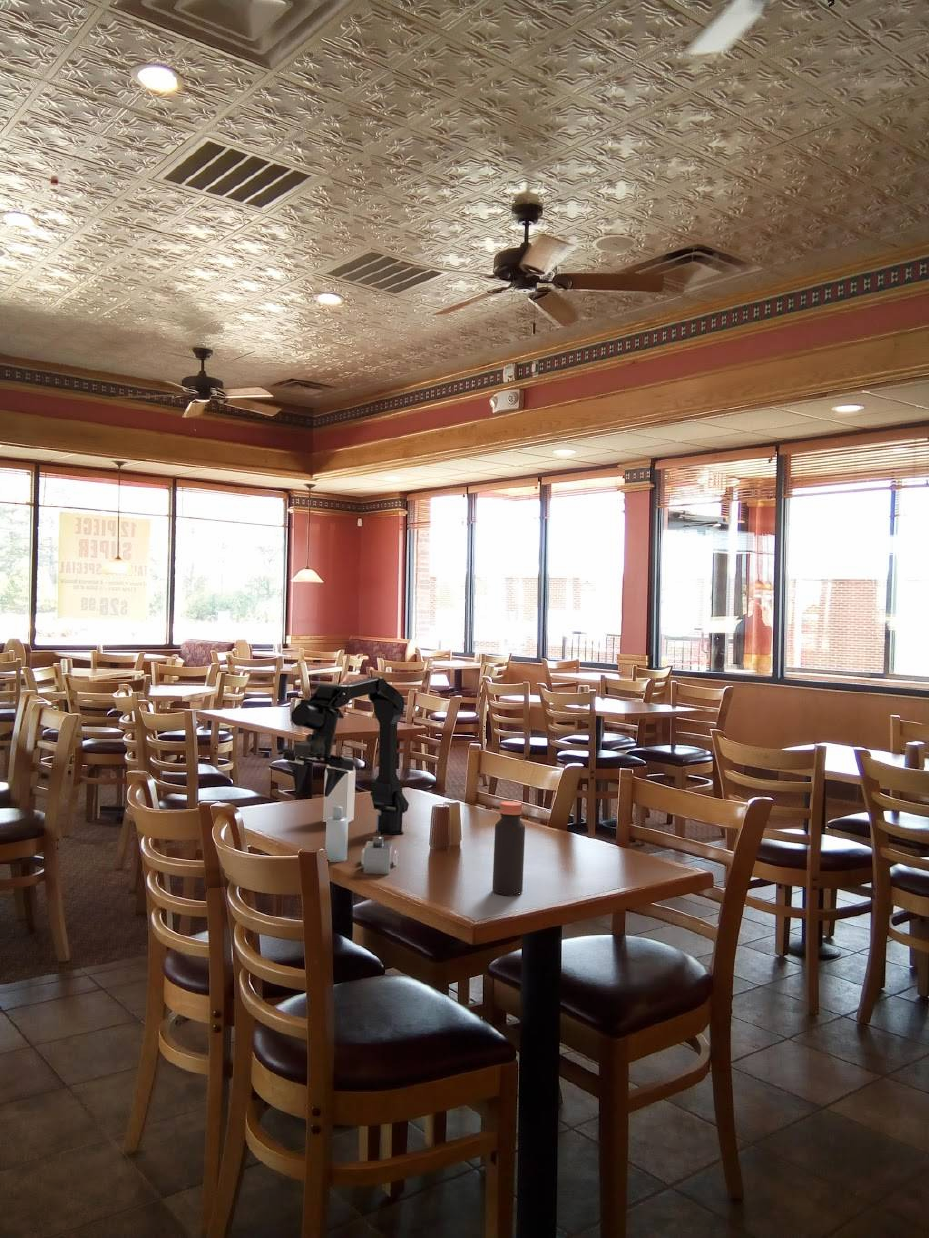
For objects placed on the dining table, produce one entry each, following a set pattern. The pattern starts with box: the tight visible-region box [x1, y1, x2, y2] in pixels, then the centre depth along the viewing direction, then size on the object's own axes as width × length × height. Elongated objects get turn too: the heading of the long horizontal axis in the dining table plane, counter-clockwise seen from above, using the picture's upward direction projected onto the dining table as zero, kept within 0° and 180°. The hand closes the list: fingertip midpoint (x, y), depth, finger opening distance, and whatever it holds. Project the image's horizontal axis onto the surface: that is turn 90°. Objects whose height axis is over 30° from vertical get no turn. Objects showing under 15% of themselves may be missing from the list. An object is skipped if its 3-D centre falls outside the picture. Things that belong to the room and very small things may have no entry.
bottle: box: [491, 800, 526, 896], centre depth 215 cm, size 7×7×20 cm
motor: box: [360, 835, 399, 875], centre depth 231 cm, size 12×9×8 cm
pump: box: [324, 806, 349, 863], centre depth 237 cm, size 5×5×13 cm
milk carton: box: [322, 756, 357, 824], centre depth 280 cm, size 7×7×19 cm
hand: (311, 794), depth 240 cm, fingers open, 9 cm apart
